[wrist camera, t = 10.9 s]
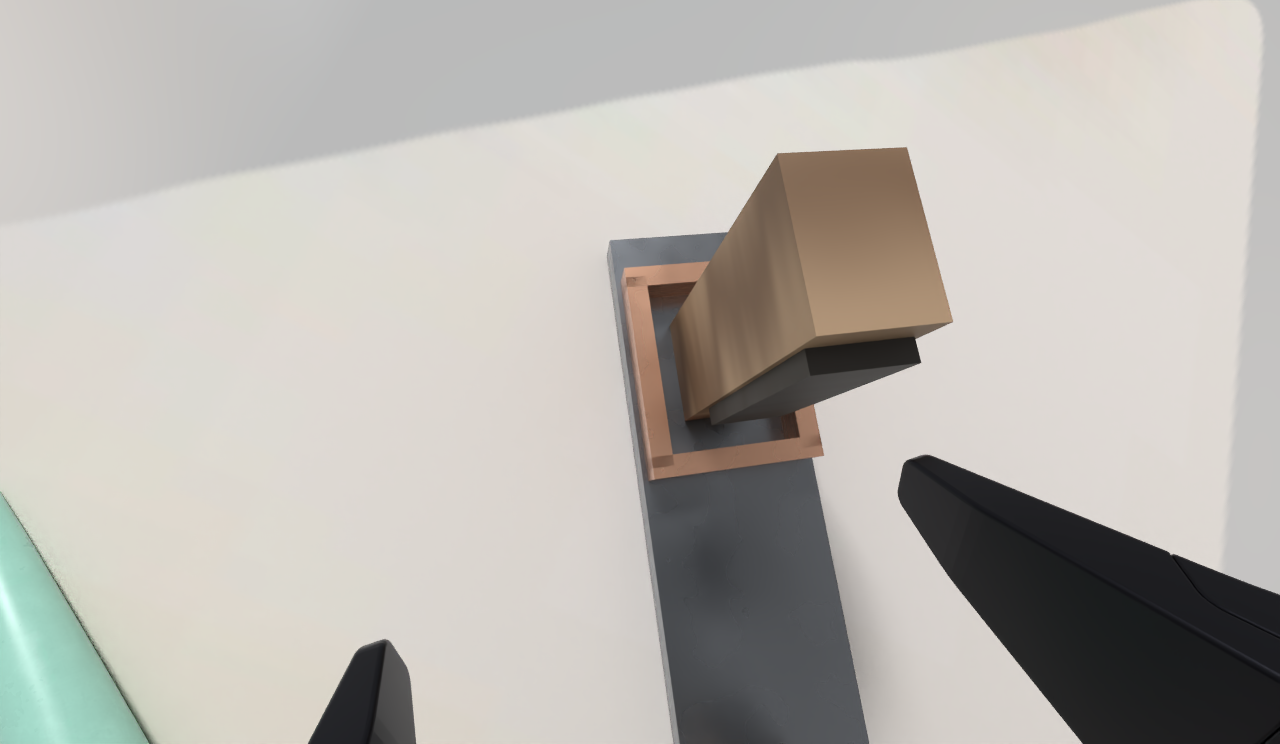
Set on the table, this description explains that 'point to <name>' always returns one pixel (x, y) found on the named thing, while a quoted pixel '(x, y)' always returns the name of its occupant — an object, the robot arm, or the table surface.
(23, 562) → the mint green cone
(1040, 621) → the robot arm
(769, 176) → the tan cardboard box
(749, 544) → the rail
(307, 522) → the table surface
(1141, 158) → the table surface
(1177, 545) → the table surface
